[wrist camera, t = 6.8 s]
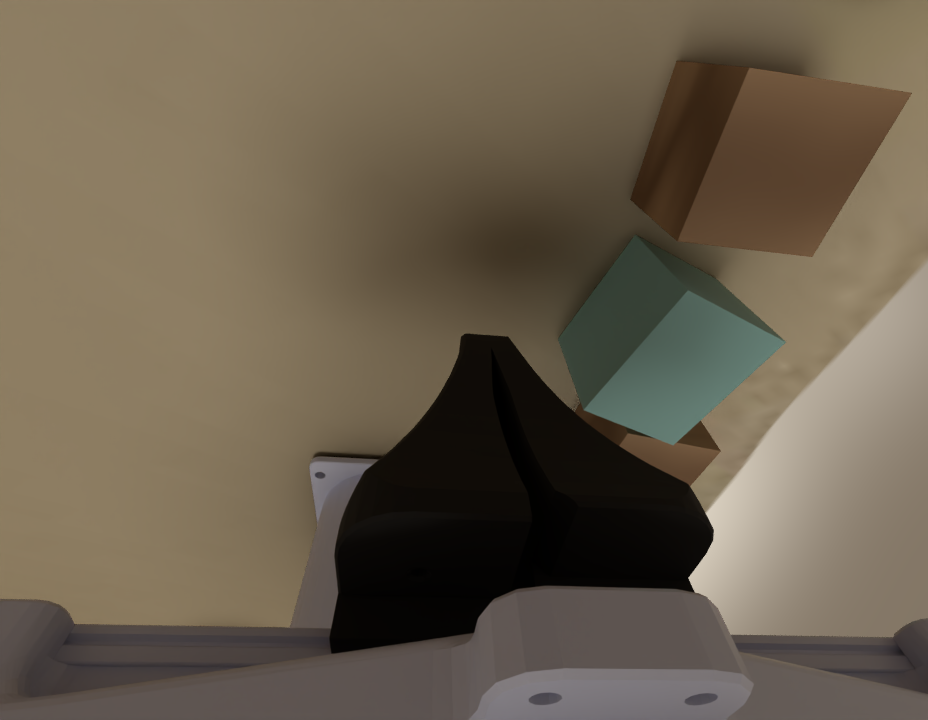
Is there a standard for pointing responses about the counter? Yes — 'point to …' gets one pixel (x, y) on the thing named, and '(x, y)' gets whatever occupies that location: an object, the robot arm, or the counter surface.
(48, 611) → the robot arm
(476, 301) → the counter surface
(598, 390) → the teal block
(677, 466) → the reddish brown cubic block
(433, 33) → the counter surface
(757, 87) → the brown cube
